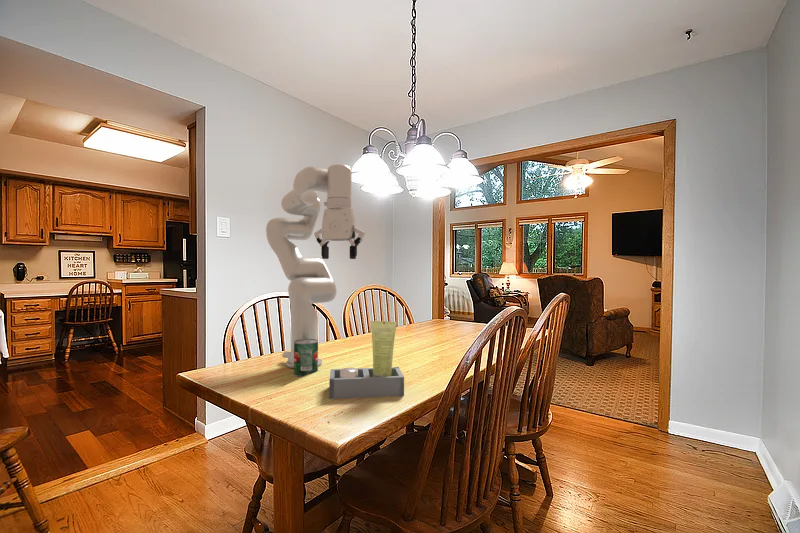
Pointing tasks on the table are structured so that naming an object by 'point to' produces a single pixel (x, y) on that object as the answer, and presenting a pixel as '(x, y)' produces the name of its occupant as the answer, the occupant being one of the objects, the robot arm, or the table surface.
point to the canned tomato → (305, 357)
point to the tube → (382, 347)
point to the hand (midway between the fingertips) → (338, 258)
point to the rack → (366, 384)
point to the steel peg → (349, 373)
